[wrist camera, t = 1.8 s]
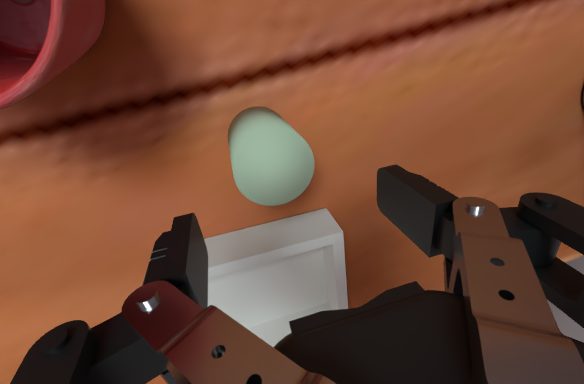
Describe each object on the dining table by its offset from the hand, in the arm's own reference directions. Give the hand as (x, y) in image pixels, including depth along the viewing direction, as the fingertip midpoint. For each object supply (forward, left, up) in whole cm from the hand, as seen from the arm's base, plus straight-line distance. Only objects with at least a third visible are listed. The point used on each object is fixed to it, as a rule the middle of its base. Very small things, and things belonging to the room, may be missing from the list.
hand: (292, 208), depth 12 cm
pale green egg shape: (0, 0, -12) cm, 12 cm away
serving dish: (+3, +15, -12) cm, 19 cm away
